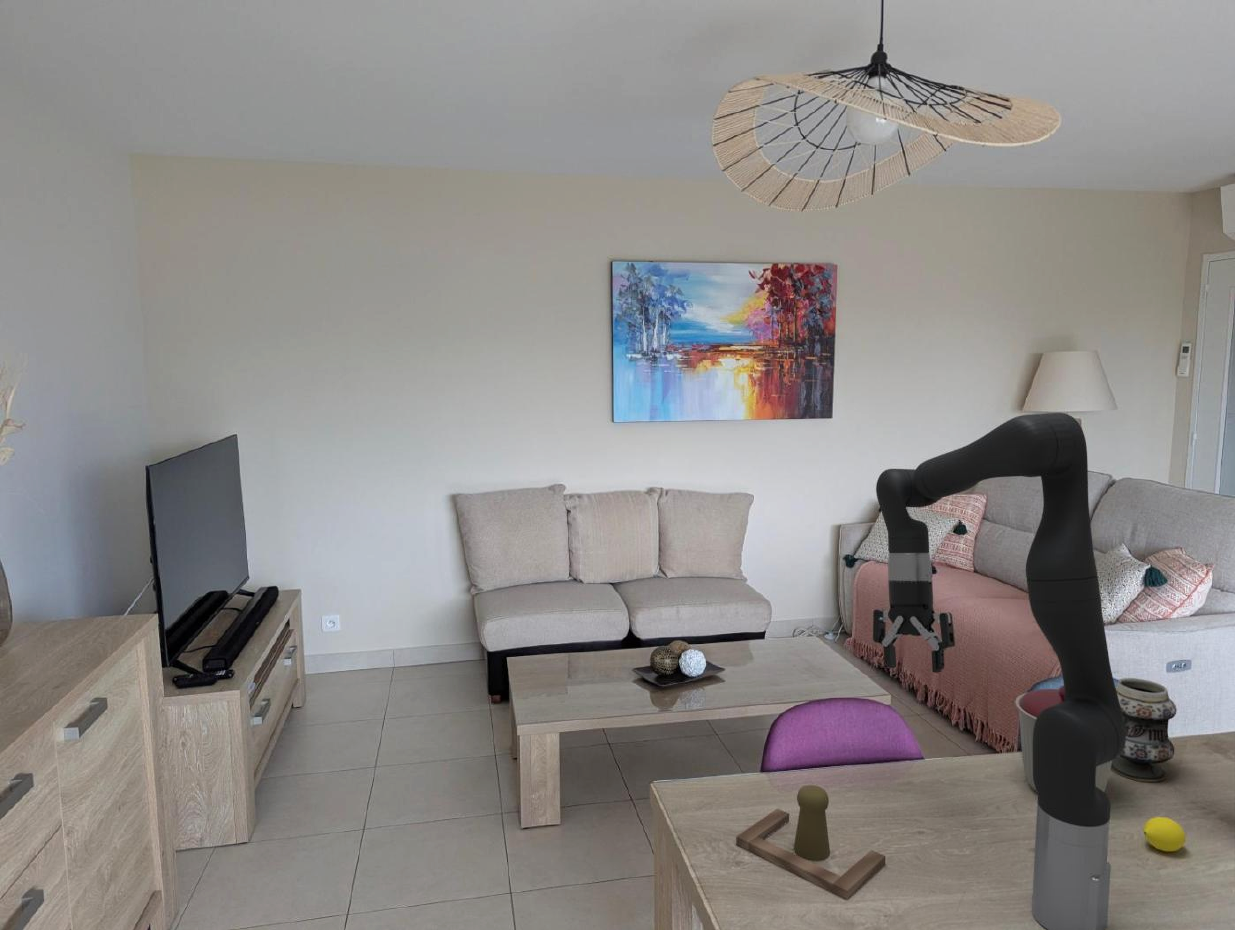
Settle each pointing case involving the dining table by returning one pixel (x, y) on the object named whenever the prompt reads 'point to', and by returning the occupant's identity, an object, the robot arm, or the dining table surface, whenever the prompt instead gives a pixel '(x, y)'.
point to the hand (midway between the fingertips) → (914, 669)
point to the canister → (1029, 711)
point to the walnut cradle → (803, 868)
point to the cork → (812, 824)
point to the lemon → (1164, 834)
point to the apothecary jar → (1144, 729)
